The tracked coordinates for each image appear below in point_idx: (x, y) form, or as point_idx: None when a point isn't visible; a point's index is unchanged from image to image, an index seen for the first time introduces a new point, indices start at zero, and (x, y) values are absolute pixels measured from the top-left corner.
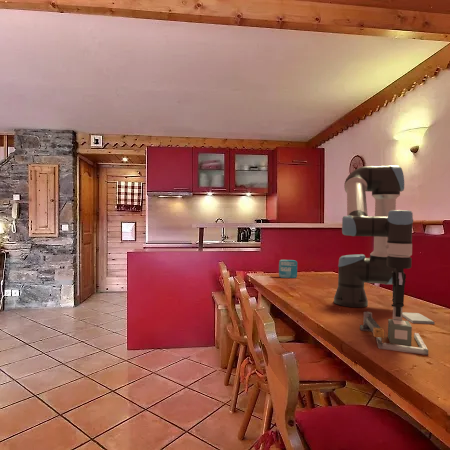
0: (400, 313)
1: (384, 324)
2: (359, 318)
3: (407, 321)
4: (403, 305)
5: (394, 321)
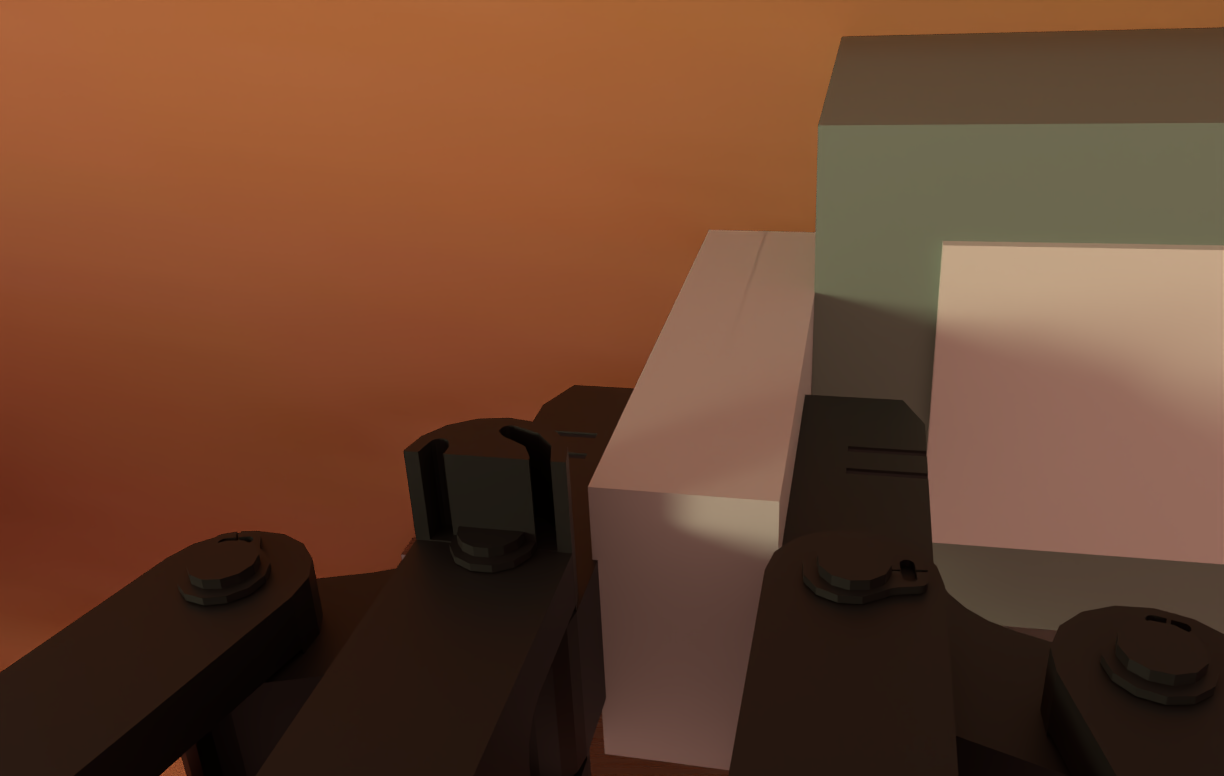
0: (927, 468)
1: (82, 348)
2: (4, 667)
3: (900, 156)
4: (1199, 645)
5: (1098, 529)
